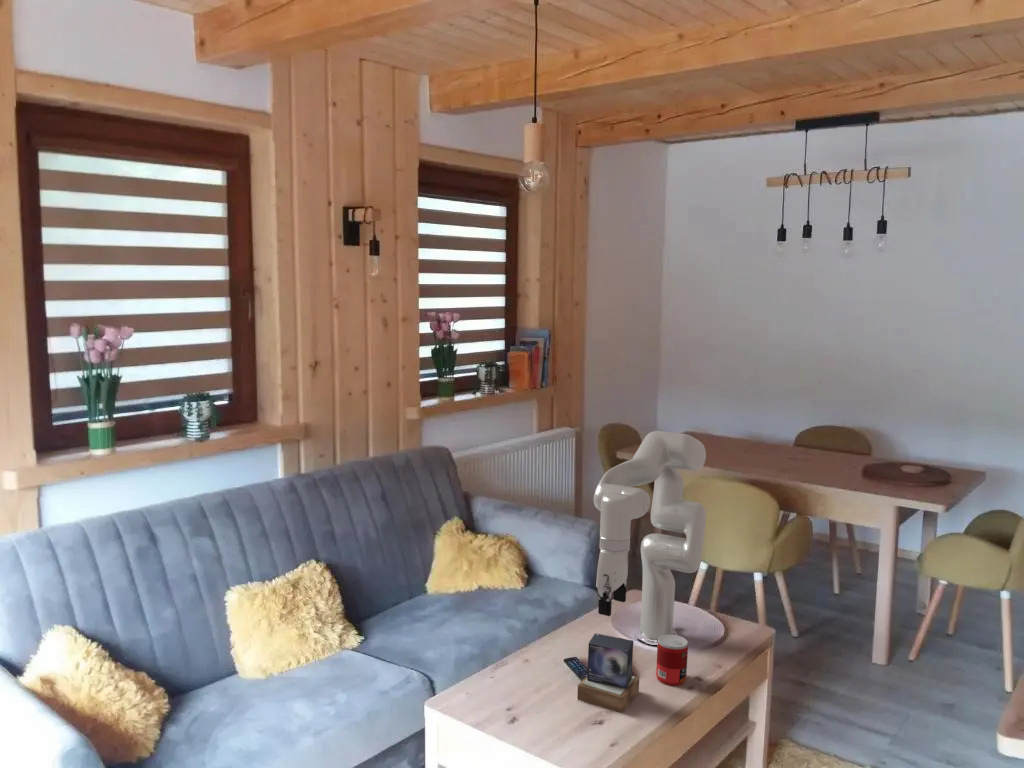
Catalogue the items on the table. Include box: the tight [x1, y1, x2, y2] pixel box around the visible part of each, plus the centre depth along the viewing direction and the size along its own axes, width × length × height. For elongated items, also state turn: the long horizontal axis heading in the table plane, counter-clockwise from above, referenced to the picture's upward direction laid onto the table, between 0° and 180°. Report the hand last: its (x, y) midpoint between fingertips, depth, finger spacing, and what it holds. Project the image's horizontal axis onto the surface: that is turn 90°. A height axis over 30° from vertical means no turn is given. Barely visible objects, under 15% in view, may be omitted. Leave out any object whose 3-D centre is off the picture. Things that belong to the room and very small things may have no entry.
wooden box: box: [576, 675, 640, 714], centre depth 216 cm, size 12×12×4 cm
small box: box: [586, 633, 635, 689], centre depth 216 cm, size 11×6×10 cm, turn 69°
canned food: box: [655, 634, 689, 687], centre depth 225 cm, size 8×8×11 cm
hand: (612, 607), depth 213 cm, fingers open, 9 cm apart
